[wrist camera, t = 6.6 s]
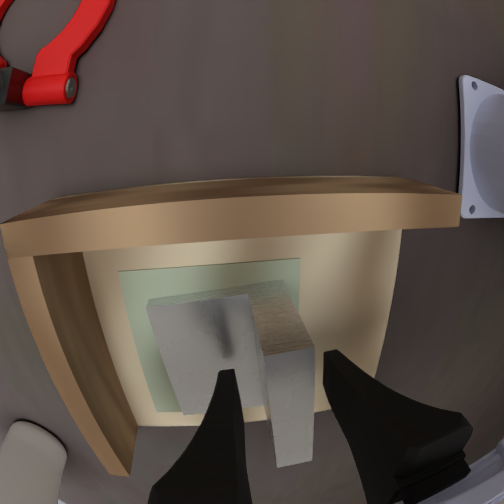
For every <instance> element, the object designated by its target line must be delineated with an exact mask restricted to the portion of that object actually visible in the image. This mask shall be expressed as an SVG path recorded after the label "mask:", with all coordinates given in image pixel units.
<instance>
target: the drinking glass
mask: <svg viewBox="0 0 504 504" xmlns="http://www.w3.org/2000/svg"><path fill="white" fill-rule="evenodd" d="M66 460H67V453H66V450H65V448H64V447H63V445H62V444H61V443H60V442H59V440H58V439H56V438H55V437H54V436H53V435H52V434H50V433H49V432H48V431H46V430H44V429H43V428H41V427H39V426H37V425H35V424H32V423H29V422H25V421H17V422H15V423H13V424H12V425H11V426H10V428H9V430H8V432H7V434H6V436H5V439H4V440H3V442H2V444H1V446H0V504H58V497H59V491H60V485H61V479H62V474H63V471H64V467H65V464H66Z"/></svg>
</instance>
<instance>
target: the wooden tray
mask: <svg viewBox="0 0 504 504" xmlns="http://www.w3.org/2000/svg"><path fill="white" fill-rule="evenodd" d="M461 204H462V195H461V194H458V193H455V192H451V191H448V190H445V189H441V188H438V187H435V186H431V185H428V184H424V183H421V182H417V181H413V180H409V179H406V178H374V177H299V178H266V179H244V180H226V181H211V182H197V183H184V184H173V185H162V186H152V187H143V188H134V189H125V190H117V191H109V192H101V193H94V194H87V195H80V196H73V197H66V198H60V199H54V200H50V201H47V202H45V203H43V204H41V205H39V206H36V207H34V208H32V209H30V210H28V211H26V212H24V213H21V214H19V215H17V216H15V217H13V218H11V219H9V220H7V221H5V222H3V223H1V224H0V227H1V232H2V237H3V242H4V246H5V250H6V254H7V258H8V262H9V266H10V270H11V273H12V277H13V280H14V284H15V287H16V290H17V293H18V296H19V299H20V302H21V305H22V308H23V311H24V314H25V317H26V320H27V322H28V325H29V327H30V330H31V333H32V335H33V338H34V340H35V343H36V345H37V347H38V350H39V352H40V354H41V357H42V359H43V361H44V363H45V365H46V368H47V370H48V372H49V374H50V376H51V378H52V380H53V382H54V384H55V386H56V388H57V390H58V392H59V394H60V396H61V398H62V399H63V401H64V403H65V405H66V407H67V409H68V410H69V412H70V414H71V416H72V417H73V419H74V421H75V422H76V424H77V426H78V427H79V429H80V431H81V432H82V434H83V436H84V437H85V439H86V440H87V442H88V443H89V445H90V446H91V448H92V449H93V451H94V452H95V454H96V455H97V457H98V458H99V460H100V461H101V463H102V464H103V465H104V467H105V468H106V469H107V471H108V472H109V474H110V475H119V476H129V477H130V473H131V466H132V459H133V453H134V446H135V440H136V435H137V429H138V424H137V422H136V420H135V418H134V415H133V413H132V411H131V408H130V406H129V403H128V401H127V399H126V396H125V394H124V391H123V388H122V386H121V383H120V381H119V378H118V375H117V373H116V370H115V367H114V364H113V361H112V358H111V356H110V353H109V350H108V347H107V343H106V340H105V337H104V334H103V331H102V327H101V324H100V321H99V317H98V314H97V310H96V307H95V303H94V299H93V295H92V291H91V287H90V283H89V279H88V275H87V271H86V266H85V262H84V257H83V251H95V250H106V249H118V248H131V247H143V246H156V245H169V244H182V243H195V242H209V241H223V240H237V239H251V238H266V237H281V236H297V235H313V234H329V233H346V232H363V231H381V230H400V229H419V228H440V227H459V221H460V213H461Z"/></svg>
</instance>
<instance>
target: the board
mask: <svg viewBox="0 0 504 504" xmlns="http://www.w3.org/2000/svg"><path fill="white" fill-rule="evenodd" d="M299 177H374V178H402V177H384V176H283V177H256V178H236V179H219V180H204V181H191V182H179V183H168V184H158V185H148V186H139V187H130V188H121V189H113V190H106V191H98V192H91V193H84V194H77V195H71V196H64V197H58V198H54V199H60V198H66V197H73V196H80V195H87V194H94V193H101V192H109V191H117V190H125V189H134V188H143V187H152V186H162V185H173V184H184V183H197V182H211V181H226V180H244V179H266V178H299ZM54 199H52V200H54ZM401 233H402V229H400V230H381V231H363V232H346V233H329V234H313V235H297V236H281V237H266V238H251V239H237V240H223V241H209V242H195V243H182V244H169V245H156V246H143V247H131V248H118V249H106V250H95V251H83V257H84V262H85V266H86V271H87V275H88V279H89V283H90V287H91V291H92V295H93V299H94V303H95V307H96V310H97V314H98V317H99V321H100V324H101V327H102V331H103V334H104V337H105V340H106V343H107V347H108V350H109V353H110V356H111V358H112V361H113V364H114V367H115V370H116V373H117V375H118V378H119V381H120V383H121V386H122V388H123V391H124V394H125V396H126V399H127V401H128V403H129V406H130V408H131V411H132V413H133V415H134V418H135V420H136V422H137V424H138V426H197V425H200V424H201V422H202V420H203V418H204V416H205V413H203V414H193V415H183V412H182V410H181V407H180V405H179V402H178V400H177V397H176V395H175V392H174V390H173V387H172V384H171V382H170V379H169V376H168V374H167V371H166V368H165V365H164V363H163V360H162V357H161V354H160V351H159V348H158V345H157V342H156V339H155V336H154V333H153V330H152V327H151V323H150V320H149V317H148V314H147V310H146V306H147V303H148V300H149V299H153V298H161V297H168V296H175V295H183V294H190V293H197V292H204V291H211V290H218V289H225V288H231V287H238V286H244V285H251V284H257V283H264V282H270V281H276V280H282V281H283V283H284V285H285V287H286V289H287V291H288V293H289V295H290V297H291V299H292V301H293V303H294V305H295V307H296V309H297V311H298V313H299V315H300V317H301V319H302V321H303V323H304V325H305V327H306V329H307V331H308V333H309V335H310V338H311V340H312V342H313V344H314V346H315V399H314V412H319V411H324V410H329V409H331V406H330V404H329V402H328V399H327V396H326V393H325V390H324V387H323V355H324V352H326V351H330V350H334V349H337V350H339V351H340V352H341V353H342V354H344V355H345V356H346V357H347V358H348V359H349V360H351V361H352V362H353V363H354V364H355V365H357V366H358V367H359V368H361V369H362V370H363V371H364V372H366V373H367V374H369V375H370V376H371V377H373V378H375V374H376V370H377V366H378V362H379V358H380V354H381V350H382V346H383V341H384V337H385V332H386V328H387V323H388V318H389V313H390V308H391V302H392V297H393V291H394V285H395V279H396V272H397V265H398V258H399V250H400V242H401ZM242 411H243V417H244V422H252V421H261V420H267V419H266V414H265V409H264V405H262V406H256V407H250V408H243V409H242Z"/></svg>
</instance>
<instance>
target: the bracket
mask: <svg viewBox="0 0 504 504" xmlns="http://www.w3.org/2000/svg"><path fill="white" fill-rule="evenodd" d="M146 310H147V314H148V317H149V320H150V323H151V327H152V330H153V333H154V336H155V339H156V342H157V345H158V348H159V351H160V354H161V357H162V360H163V363H164V365H165V368H166V371H167V374H168V376H169V379H170V382H171V384H172V387H173V390H174V392H175V395H176V397H177V400H178V402H179V405H180V407H181V410H182V412H183V415H193V414H203V413H206V411H207V409H208V406H209V404H210V401H211V398H212V395H213V392H214V389H215V385H216V381H217V376H218V372H219V371H220V370H227V369H234V370H235V375H236V379H237V384H238V389H239V394H240V399H241V405H242V409H243V408H250V407H256V406H262V405H264V409H265V414H266V419H267V423H268V428H269V432H270V437H271V441H272V446H273V451H274V455H275V459H276V464H277V468H278V467H283V466H288V465H293V464H298V463H303V462H307V461H311V460H312V452H313V430H314V399H315V346H314V344H313V342H312V340H311V338H310V335H309V333H308V331H307V329H306V327H305V325H304V323H303V321H302V319H301V317H300V315H299V313H298V311H297V309H296V307H295V305H294V303H293V301H292V299H291V297H290V295H289V293H288V291H287V289H286V287H285V285H284V283H283V281H282V280H276V281H270V282H264V283H257V284H251V285H244V286H238V287H231V288H225V289H218V290H211V291H204V292H197V293H190V294H183V295H175V296H168V297H161V298H153V299H149V300H148V303H147V306H146Z"/></svg>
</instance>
